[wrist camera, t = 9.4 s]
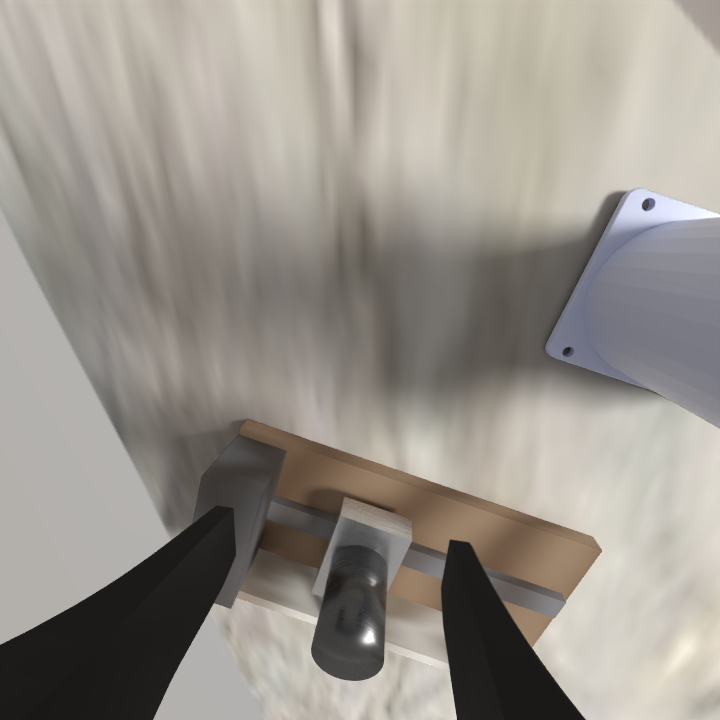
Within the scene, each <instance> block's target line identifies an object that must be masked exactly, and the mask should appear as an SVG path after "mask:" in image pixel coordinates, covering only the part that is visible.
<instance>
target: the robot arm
mask: <svg viewBox="0 0 720 720" xmlns="http://www.w3.org/2000/svg"><path fill="white" fill-rule="evenodd" d="M645 199H646V200H648V201H649V207H648V209H647V210H646V211H644V210H643V209H642V203H643V201H644V200H645ZM567 347H570V352H569V353H568V354H566V355H563V350H564V349H565V348H567ZM545 350H546V352H547V354H548V355H550V356H551V357H553V358H556V359H559V360H562V361H565V362H568V363H571V364H574V365H577V366H580V367H583V368H586V369H589V370H592V371H595V372H598V373H601V374H604V375H607V376H610V377H613V378H616V379H619V380H622V381H625V382H628V383H631V384H633V385H636V386H639V387H642V388H645V389H648V390H651V391H654V392H656V393H658V394H660V395H662V396H663V397H665V398H667V399H669V400H670V401H672V402H674V403H676V404H677V405H679V406H681V407H683V408H685V409H686V410H688V411H690V412H692V413H693V414H695V415H697V416H699V417H700V418H702V419H704V420H706V421H707V422H709V423H711V424H713V425H714V426H716V427H718V428H720V214H719V213H716V212H713V211H710V210H707V209H704V208H701V207H697V206H694V205H691V204H688V203H685V202H682V201H679V200H676V199H673V198H670V197H667V196H664V195H661V194H658V193H655V192H652V191H649V190H646V189H641V188H637V189H634V190H630V191H628V192H627V193H625V194H624V195H623V197H622V198H621V200H620V202H619V204H618V206H617V208H616V210H615V212H614V214H613V216H612V218H611V219H610V221H609V223H608V225H607V227H606V229H605V231H604V233H603V235H602V237H601V239H600V241H599V243H598V245H597V247H596V248H595V250H594V252H593V254H592V256H591V258H590V260H589V262H588V264H587V266H586V268H585V270H584V272H583V274H582V276H581V277H580V279H579V281H578V283H577V285H576V287H575V289H574V291H573V293H572V295H571V297H570V299H569V301H568V303H567V305H566V307H565V308H564V310H563V312H562V314H561V316H560V318H559V320H558V322H557V324H556V326H555V328H554V330H553V332H552V334H551V336H550V337H549V339H548V341H547V343H546V346H545ZM235 557H236V542H235V525H234V508H231V507H224V506H217V505H216V506H215V507H214V508H212V509H211V510H210V511H208V512H207V513H206V514H204V515H203V516H202V517H201V518H199V519H198V520H197V521H196V522H194V523H193V524H192V525H190V526H189V527H188V528H187V529H185V530H184V531H183V532H181V533H180V534H179V535H178V536H176V537H175V538H174V539H172V540H171V541H170V542H168V543H167V544H166V545H165V546H163V547H162V548H160V549H159V550H158V551H157V552H155V553H154V554H152V555H151V556H150V557H148V558H147V559H145V560H144V561H143V562H141V563H140V564H139V565H137V566H136V567H134V568H133V569H132V570H130V571H128V572H127V573H126V574H124V575H123V576H121V577H120V578H118V579H117V580H115V581H114V582H112V583H110V584H109V585H107V586H106V587H104V588H103V589H101V590H99V591H98V592H96V593H95V594H93V595H91V596H89V597H88V598H86V599H85V600H83V601H81V602H80V603H78V604H76V605H75V606H73V607H71V608H69V609H67V610H66V611H64V612H62V613H60V614H58V615H56V616H55V617H53V618H51V619H49V620H47V621H45V622H44V623H42V624H40V625H38V626H36V627H35V628H33V629H31V630H29V631H27V632H25V633H23V634H21V635H19V636H17V637H15V638H13V639H11V640H9V641H7V642H5V643H3V644H1V645H0V720H153V718H154V716H155V714H156V712H157V710H158V707H159V705H160V703H161V701H162V699H163V697H164V695H165V692H166V690H167V688H168V686H169V684H170V682H171V680H172V678H173V676H174V674H175V672H176V670H177V668H178V666H179V664H180V663H181V661H182V659H183V657H184V656H185V654H186V652H187V650H188V648H189V646H190V645H191V643H192V641H193V639H194V638H195V636H196V634H197V632H198V630H199V629H200V627H201V625H202V623H203V622H204V620H205V618H206V616H207V615H208V613H209V611H210V609H211V607H212V606H213V604H214V602H215V600H216V598H217V597H218V595H219V593H220V591H221V589H222V587H223V585H224V583H225V580H226V578H227V576H228V574H229V571H230V569H231V566H232V564H233V562H234V559H235ZM441 601H442V619H443V629H444V636H445V643H446V649H447V656H448V663H449V669H450V676H451V682H452V689H453V695H454V702H455V708H456V715H457V720H586V719H585V718H584V717H583V716H582V715H581V713H580V712H579V711H578V710H577V708H576V707H575V706H574V704H573V703H572V702H571V701H570V699H569V698H568V697H567V695H566V694H565V693H564V692H563V690H562V689H561V688H560V686H559V685H558V684H557V682H556V681H555V680H554V678H553V677H552V675H551V674H550V673H549V671H548V670H547V669H546V667H545V666H544V664H543V663H542V662H541V660H540V659H539V657H538V656H537V655H536V653H535V652H534V650H533V649H532V647H531V646H530V644H529V643H528V641H527V640H526V638H525V637H524V635H523V634H522V632H521V631H520V629H519V628H518V626H517V624H516V623H515V621H514V620H513V618H512V616H511V615H510V613H509V612H508V610H507V608H506V607H505V605H504V603H503V602H502V600H501V598H500V597H499V595H498V593H497V591H496V590H495V588H494V586H493V584H492V583H491V581H490V579H489V577H488V575H487V574H486V572H485V570H484V568H483V566H482V564H481V562H480V560H479V558H478V556H477V554H476V552H475V550H474V548H473V546H472V545H471V544H470V542H465V541H458V540H451V539H450V541H449V546H448V551H447V557H446V562H445V568H444V573H443V578H442V584H441Z"/></svg>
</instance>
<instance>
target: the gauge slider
mask: <svg viewBox="0 0 720 720" xmlns="http://www.w3.org/2000/svg"><path fill="white" fill-rule="evenodd" d="M411 542H412V522H411V519H408V518H406V517H403V516H400V515H397V514H394V513H391V512H388V511H385V510H382V509H379V508H376V507H374V506H371V505H368V504H365V503H362V502H359V501H356V500H353V499H350V498H347V497H344V500H343V502H342V505H341V508H340V510H339V513H338V516H337V519H336V521H335V524H334V527H333V529H332V532H331V535H330V537H329V540H328V543H327V546H326V548H325V551H324V554H323V556H322V559H321V562H320V565H319V567H318V570H317V573H316V577H315V581H314V585H313V589H312V592H311V593H312V594H315V595H318V596H321V597H323V599H322V603H321V607H320V612H319V616H318V621H317V625H316V629H315V634H314V638H313V642H312V647H311V653H312V657H313V659H314V661H315V662H316V664H317V665H318V666H319V667H320V668H321V669H322V670H323V671H325V672H326V673H328V674H330V675H332V676H334V677H336V678H339V679H343V680H350V681H360V680H365V679H369V678H371V677H373V676H375V675H376V674H377V673H378V672H379V671H380V670H381V669H382V667H383V663H384V648H385V626H386V604H387V592H388V590H389V588H390V586H391V584H392V582H393V580H394V577H395V575H396V573H397V571H398V569H399V567H400V565H401V563H402V561H403V559H404V556H405V554H406V552H407V550H408V548H409V546H410V544H411Z"/></svg>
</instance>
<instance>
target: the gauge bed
mask: <svg viewBox="0 0 720 720" xmlns="http://www.w3.org/2000/svg"><path fill="white" fill-rule="evenodd" d="M344 497H347V498H350V499H353V500H356V501H359V502H362V503H365V504H368V505H371V506H374V507H376V508H379V509H382V510H385V511H388V512H391V513H394V514H397V515H400V516H403V517H406V518H408V519H411V522H412V542H411V544H410V546H409V548H408V550H407V552H406V554H405V556H404V559H403V561H402V563H401V565H400V567H399V569H398V571H397V573H396V575H395V577H394V580H393V582H392V584H391V586H390V588H389V590H388V592H387V604H386V626H385V648H384V649H386V650H388V651H391V652H394V653H397V654H400V655H403V656H406V657H408V658H411V659H414V660H417V661H420V662H423V663H426V664H429V665H431V666H434V667H437V668H440V669H443V670H446V671H449V672H450V669H449V663H448V656H447V649H446V643H445V636H444V629H443V619H442V601H441V584H442V578H443V573H444V568H445V562H446V557H447V551H448V546H449V541H450V539H451V540H458V541H465V542H470V544H471V545H472V546H473V548H474V550H475V552H476V554H477V556H478V558H479V560H480V562H481V564H482V566H483V568H484V570H485V572H486V574H487V575H488V577H489V579H490V581H491V583H492V584H493V586H494V588H495V590H496V591H497V593H498V595H499V597H500V598H501V600H502V602H503V603H504V605H505V607H506V608H507V610H508V612H509V613H510V615H511V616H512V618H513V620H514V621H515V623H516V624H517V626H518V628H519V629H520V631H521V632H522V634H523V635H524V637H525V638H526V640H527V641H528V643H529V644H530V646H531V647H533V646H534V644H535V643H536V641H537V640H538V639H539V637H540V636H541V635H542V633H543V632H544V630H545V629H546V628H547V626H548V625H549V624H550V622H551V621H552V619H553V618H555V617H556V616H557V614H558V613H559V612H560V610H561V609H562V608H563V606H564V605H565V603H566V600H567V599H568V597H569V596H570V595H571V593H572V592H573V591H574V589H575V588H576V586H577V585H578V584H579V582H580V581H581V579H582V578H583V577H584V575H585V574H586V573H587V571H588V570H589V568H590V567H591V566H592V564H593V563H594V562H595V560H596V559H597V557H598V556H599V555H600V553H601V552H602V550H601V548H600V547H599V545H598V544H597V542H596V541H595V539H594V538H593V537H591V536H588V535H585V534H582V533H579V532H576V531H573V530H570V529H567V528H565V527H562V526H559V525H556V524H553V523H550V522H547V521H544V520H541V519H538V518H535V517H532V516H529V515H527V514H524V513H521V512H518V511H515V510H512V509H509V508H506V507H503V506H500V505H497V504H494V503H491V502H489V501H486V500H483V499H480V498H477V497H474V496H471V495H468V494H465V493H462V492H459V491H456V490H453V489H451V488H448V487H445V486H442V485H439V484H436V483H433V482H430V481H427V480H424V479H421V478H418V477H415V476H412V475H410V474H407V473H404V472H401V471H398V470H395V469H392V468H389V467H386V466H383V465H380V464H377V463H374V462H372V461H369V460H366V459H363V458H360V457H357V456H354V455H351V454H348V453H345V452H342V451H339V450H336V449H334V448H331V447H328V446H325V445H322V444H319V443H316V442H313V441H310V440H307V439H304V438H301V437H298V436H296V435H293V434H290V433H287V432H284V431H281V430H278V429H275V428H272V427H269V426H266V425H263V424H260V423H258V422H255V421H252V420H249V419H247V420H246V421H245V423H244V424H243V425H242V426H241V427H240V431H239V435H238V436H237V437H236V438H235V439H234V440H233V441H232V443H231V444H230V445H229V446H228V447H227V448H226V449H225V450H224V452H223V453H222V454H221V455H220V456H219V457H218V458H217V460H216V461H215V462H214V463H213V464H212V465H211V466H210V468H209V469H208V470H207V471H206V472H205V473H204V474H203V475H202V477H201V483H200V488H199V493H198V498H197V503H196V508H195V514H194V519H193V523H194V522H196V521H197V520H198V519H199V518H201V517H202V516H203V515H204V514H206V513H207V512H208V511H210V510H211V509H212V508H214V507H215V506H216V505H217V506H224V507H231V508H234V525H235V542H236V557H235V559H234V562H233V564H232V566H231V569H230V571H229V574H228V576H227V578H226V580H225V583H224V585H223V587H222V589H221V591H220V593H219V595H218V597H217V598H216V600H215V602H214V603H216V604H219V605H222V606H224V607H227V608H230V609H231V607H232V605H233V603H234V601H235V599H236V597H237V595H238V597H237V598H239V599H242V600H245V601H248V602H251V603H254V604H257V605H260V606H262V607H265V608H268V609H271V610H274V611H277V612H280V613H282V614H285V615H288V616H291V617H294V618H297V619H300V620H302V621H305V622H308V623H311V624H314V625H317V621H318V616H319V612H320V607H321V603H322V599H323V597H321V596H318V595H315V594H312V593H311V592H312V589H313V585H314V581H315V577H316V573H317V570H318V567H319V565H320V562H321V559H322V556H323V554H324V551H325V548H326V546H327V543H328V540H329V537H330V535H331V532H332V529H333V527H334V524H335V521H336V519H337V516H338V513H339V510H340V508H341V505H342V502H343V500H344Z"/></svg>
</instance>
